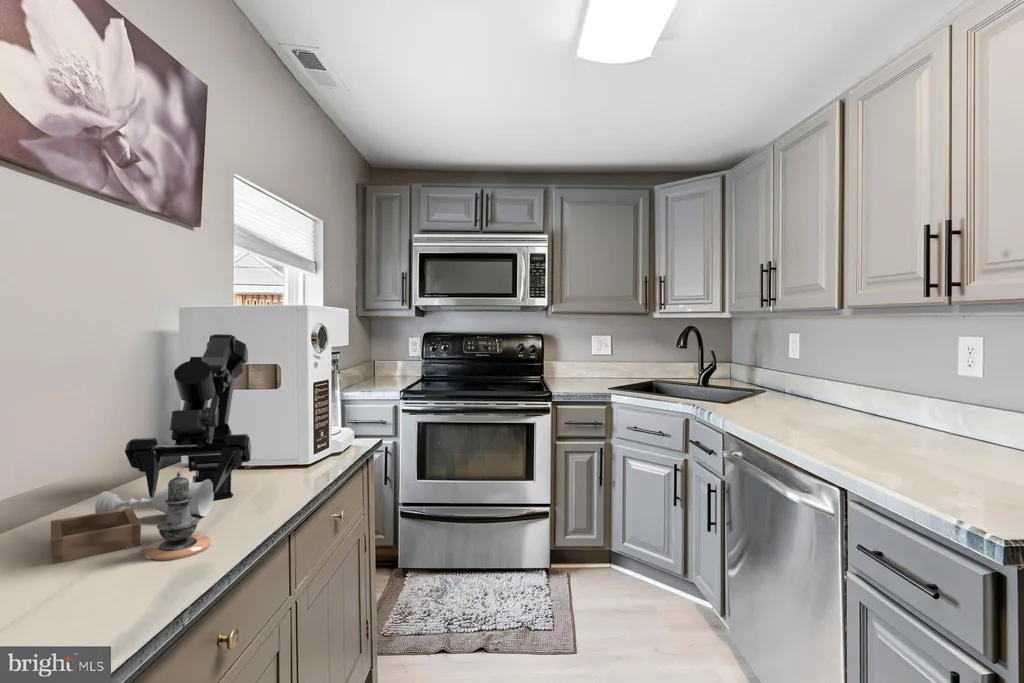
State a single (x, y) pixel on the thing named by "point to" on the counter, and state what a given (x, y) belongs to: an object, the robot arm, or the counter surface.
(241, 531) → the counter surface
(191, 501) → the chalice
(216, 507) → the counter surface
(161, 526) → the pewter pepper pot
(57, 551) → the walnut collar
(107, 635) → the counter surface
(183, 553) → the terracotta coaster
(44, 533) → the counter surface
